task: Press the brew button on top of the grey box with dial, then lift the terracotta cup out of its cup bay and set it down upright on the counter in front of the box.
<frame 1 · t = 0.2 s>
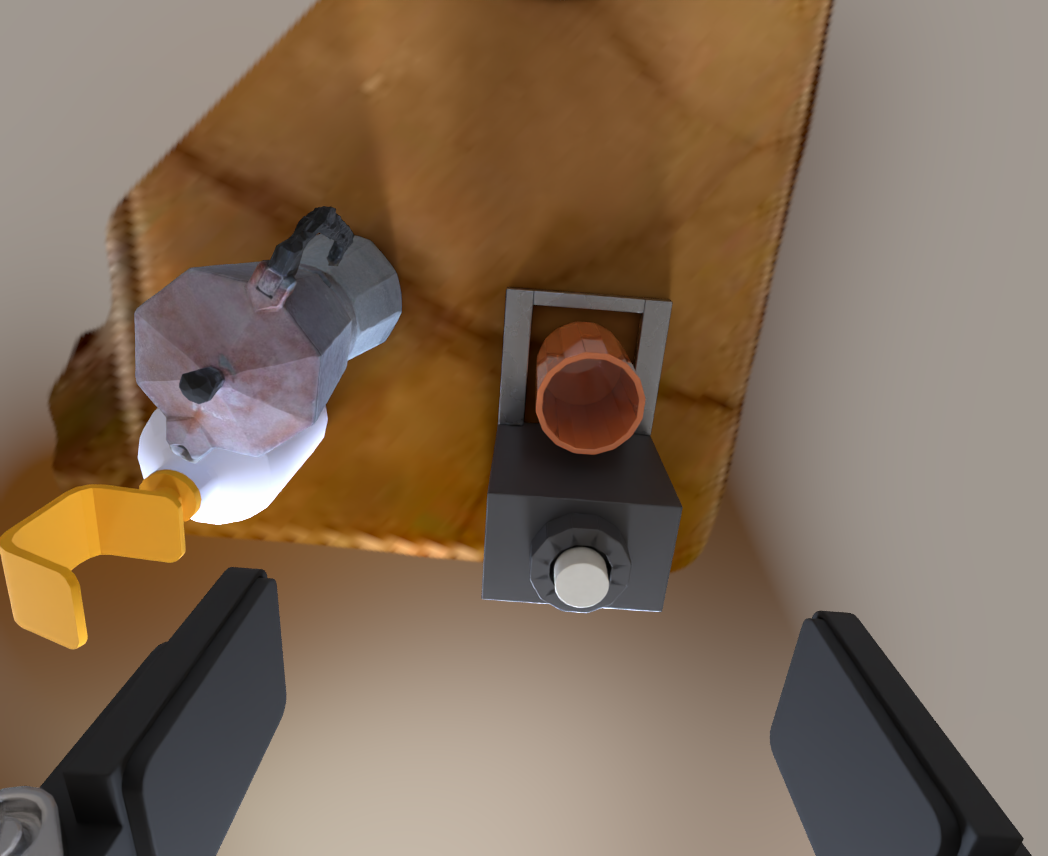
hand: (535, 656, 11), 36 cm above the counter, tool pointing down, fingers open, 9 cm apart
soap bottle: (273, 407, 48), on the counter
grey box with dial: (568, 470, 50), on the counter
cup: (580, 365, 46), on the counter
moka pot: (344, 287, 45), on the counter
cup bay: (580, 365, 46), on the counter
brew button: (580, 576, 36), point 14 cm above the counter, slide at 0.1 cm
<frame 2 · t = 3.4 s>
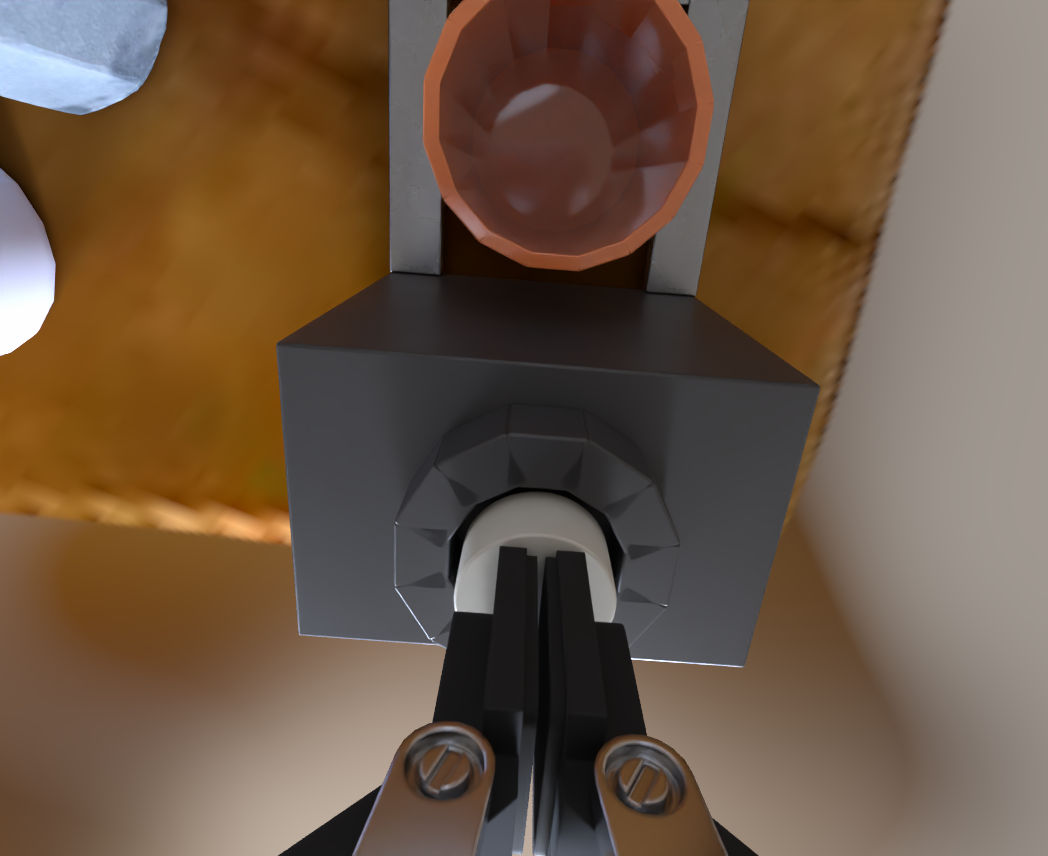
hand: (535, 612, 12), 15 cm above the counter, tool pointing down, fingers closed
grey box with dial: (534, 375, 26), on the counter
cup: (554, 145, 23), on the counter
cup bay: (554, 145, 23), on the counter
brew button: (534, 577, 13), point 14 cm above the counter, slide at 0.0 cm, touching gripper
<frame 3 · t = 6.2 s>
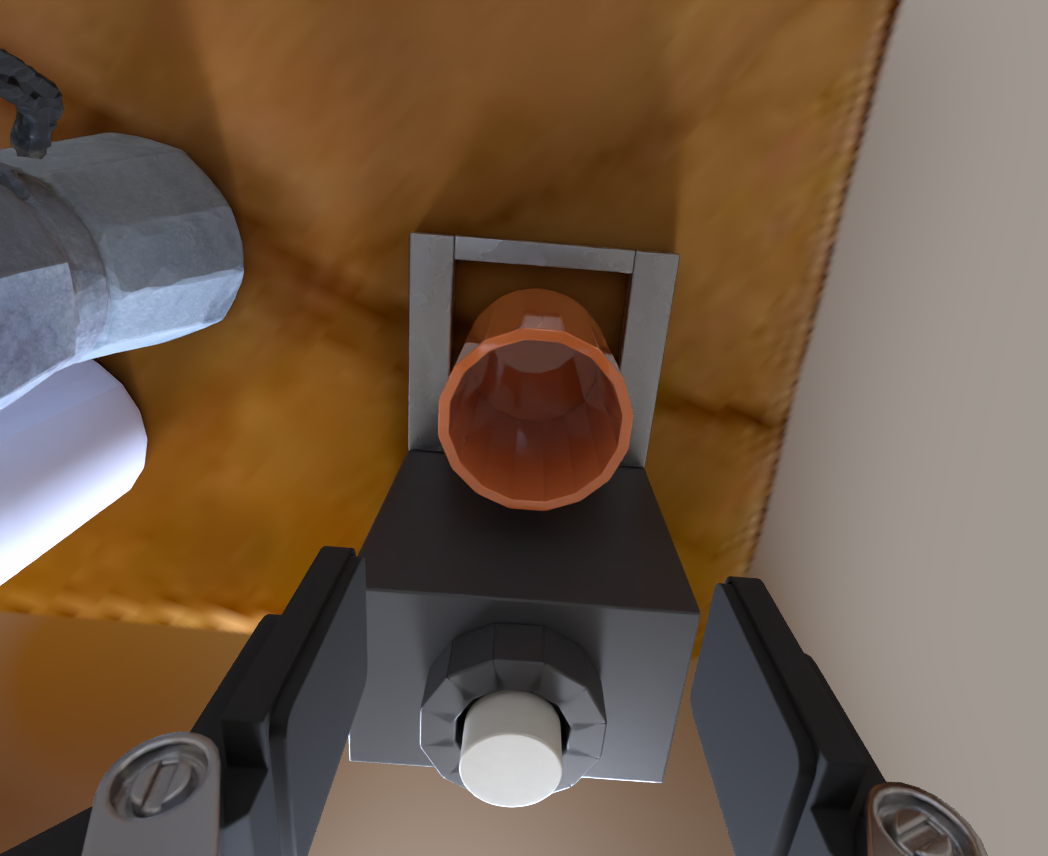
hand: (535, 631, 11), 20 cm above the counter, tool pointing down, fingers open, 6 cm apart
soap bottle: (65, 423, 32), on the counter
grey box with dial: (521, 519, 33), on the counter
cup: (534, 358, 30), on the counter
moka pot: (153, 231, 28), on the counter
cup bay: (534, 358, 30), on the counter
brew button: (511, 747, 19), point 14 cm above the counter, slide at 0.1 cm
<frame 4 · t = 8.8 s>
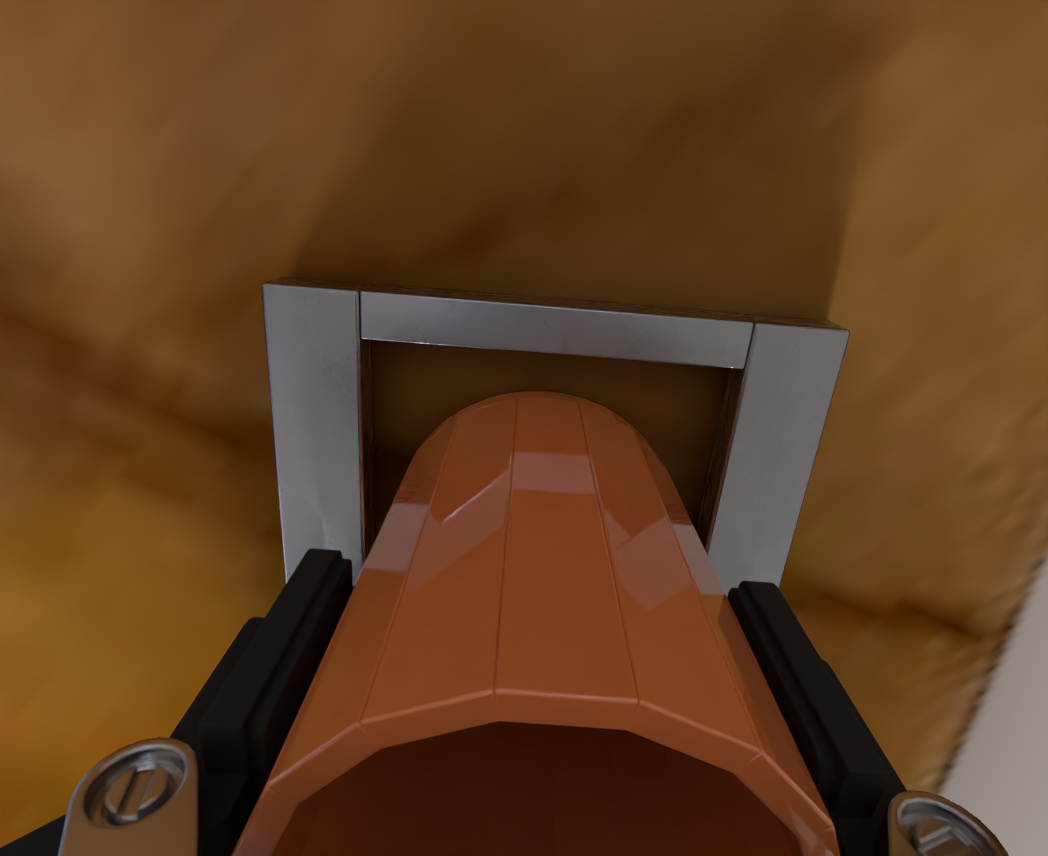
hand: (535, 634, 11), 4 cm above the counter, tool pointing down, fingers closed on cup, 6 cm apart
cup: (535, 519, 15), on the counter, touching gripper
cup bay: (535, 519, 15), on the counter
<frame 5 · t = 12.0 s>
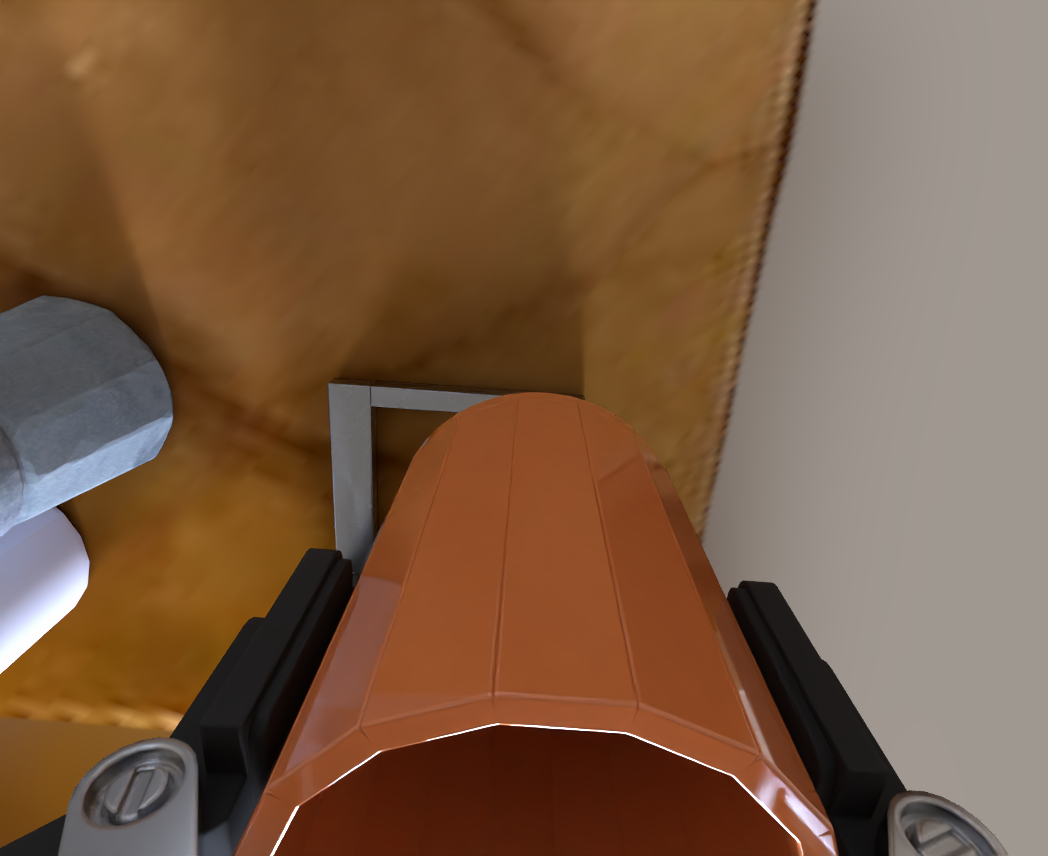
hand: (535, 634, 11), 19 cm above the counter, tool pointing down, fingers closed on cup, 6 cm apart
soap bottle: (11, 546, 33), on the counter
cup: (534, 520, 15), point 14 cm above the counter, touching gripper
moka pot: (87, 377, 29), on the counter
cup bay: (455, 488, 31), on the counter
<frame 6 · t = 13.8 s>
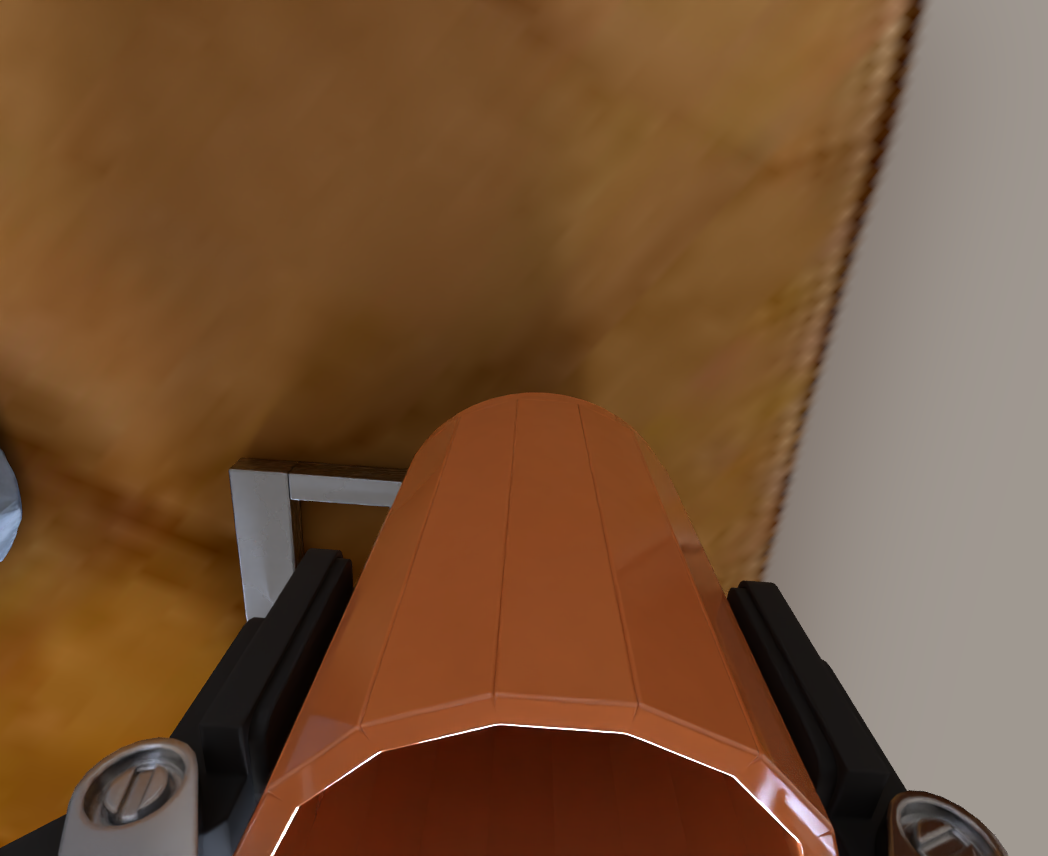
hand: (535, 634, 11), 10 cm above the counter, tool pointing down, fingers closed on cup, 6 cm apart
cup: (535, 520, 15), point 6 cm above the counter, touching gripper
cup bay: (412, 598, 23), on the counter
when the fingers open (5 cm above the counter, at t = 15.4 s): cup stays where it is, point 1 cm above the counter.
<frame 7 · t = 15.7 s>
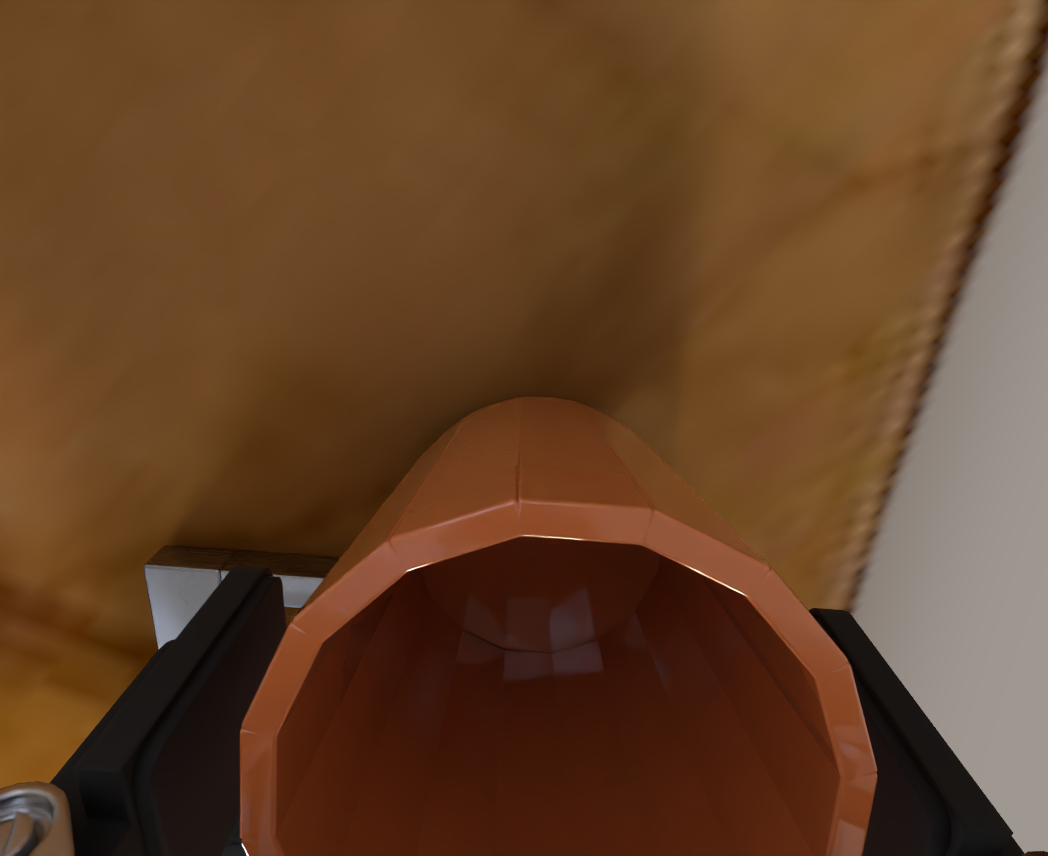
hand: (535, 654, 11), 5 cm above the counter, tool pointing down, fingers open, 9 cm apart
cup: (537, 529, 15), point 1 cm above the counter, tilted 12°
cup bay: (385, 712, 19), on the counter
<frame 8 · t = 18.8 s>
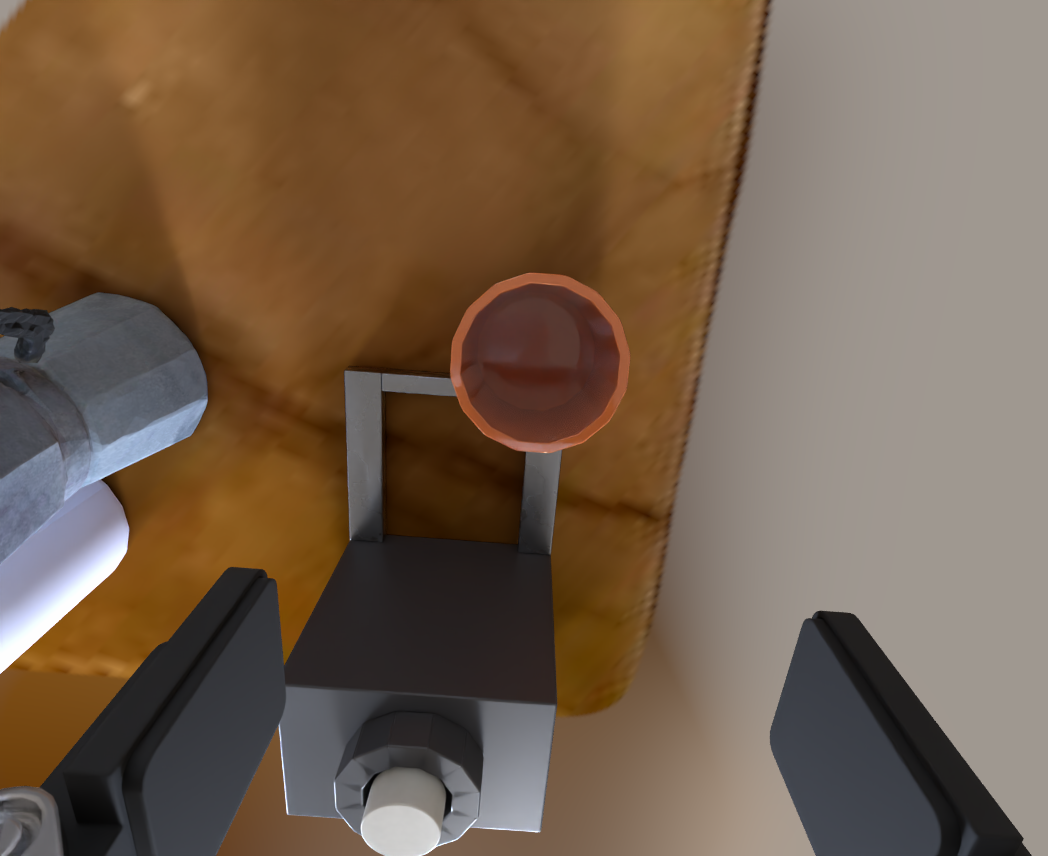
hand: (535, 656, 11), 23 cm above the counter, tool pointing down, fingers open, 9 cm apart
soap bottle: (59, 515, 37), on the counter
grey box with dial: (450, 593, 38), on the counter
cup: (535, 351, 32), point 1 cm above the counter, tilted 11°, touching cup bay
moka pot: (132, 364, 33), on the counter
cup bay: (455, 464, 35), on the counter
brew button: (404, 811, 25), point 14 cm above the counter, slide at 0.1 cm
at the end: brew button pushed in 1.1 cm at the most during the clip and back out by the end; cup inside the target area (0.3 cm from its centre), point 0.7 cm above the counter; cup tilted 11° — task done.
